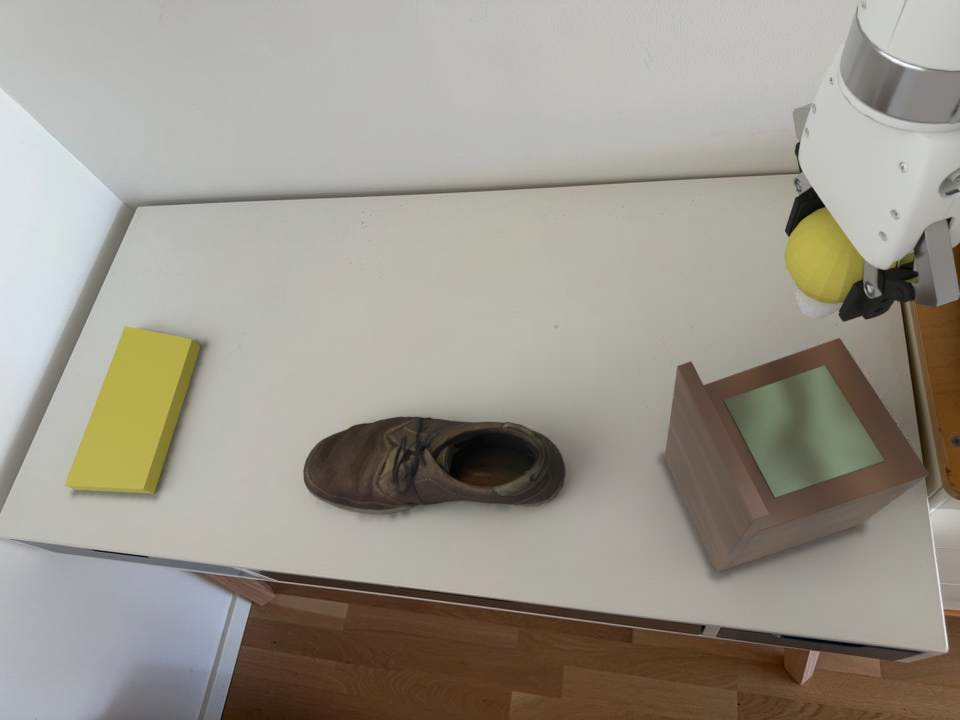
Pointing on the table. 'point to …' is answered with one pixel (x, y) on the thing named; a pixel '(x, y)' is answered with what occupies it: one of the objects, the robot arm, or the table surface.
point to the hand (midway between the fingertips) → (834, 267)
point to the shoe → (433, 465)
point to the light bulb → (822, 264)
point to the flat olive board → (135, 414)
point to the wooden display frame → (784, 453)
